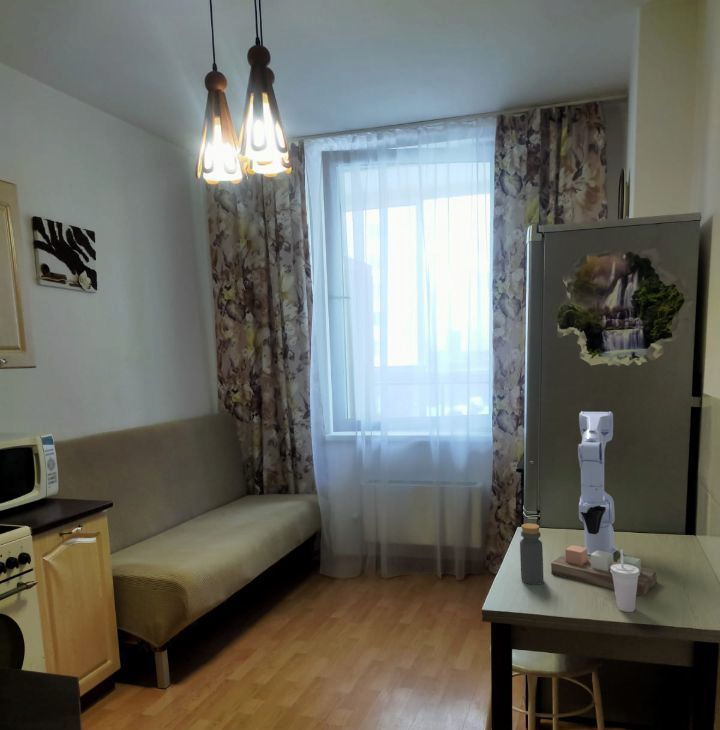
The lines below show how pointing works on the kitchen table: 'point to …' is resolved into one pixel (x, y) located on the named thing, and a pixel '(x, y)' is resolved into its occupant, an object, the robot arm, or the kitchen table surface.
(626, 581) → the smoothie
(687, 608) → the kitchen table surface
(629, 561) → the green cube
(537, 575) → the bottle
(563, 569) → the brown wooden tray
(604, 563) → the white cube
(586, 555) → the salmon cube
